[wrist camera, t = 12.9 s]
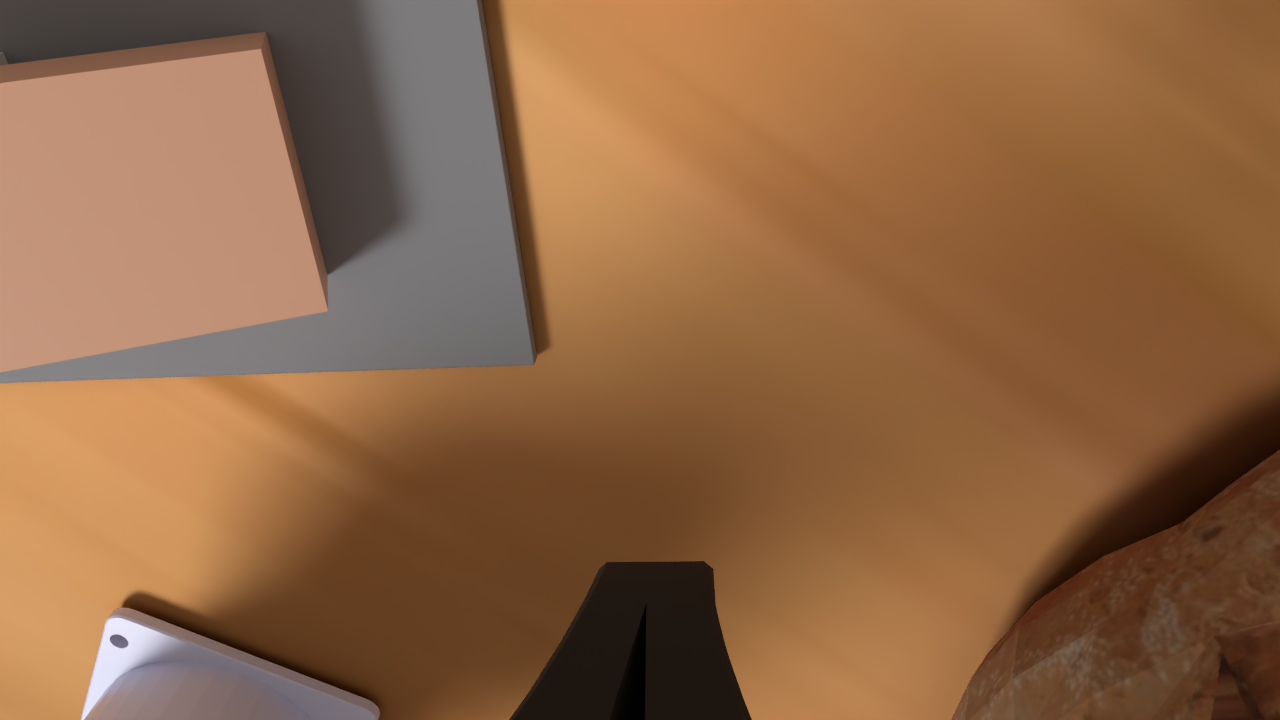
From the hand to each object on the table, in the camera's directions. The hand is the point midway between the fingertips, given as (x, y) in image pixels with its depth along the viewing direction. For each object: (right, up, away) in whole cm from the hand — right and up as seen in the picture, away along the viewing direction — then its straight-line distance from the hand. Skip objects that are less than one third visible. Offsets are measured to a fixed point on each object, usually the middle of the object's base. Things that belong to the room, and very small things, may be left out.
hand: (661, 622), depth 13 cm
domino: (-7, +7, +7) cm, 12 cm away
